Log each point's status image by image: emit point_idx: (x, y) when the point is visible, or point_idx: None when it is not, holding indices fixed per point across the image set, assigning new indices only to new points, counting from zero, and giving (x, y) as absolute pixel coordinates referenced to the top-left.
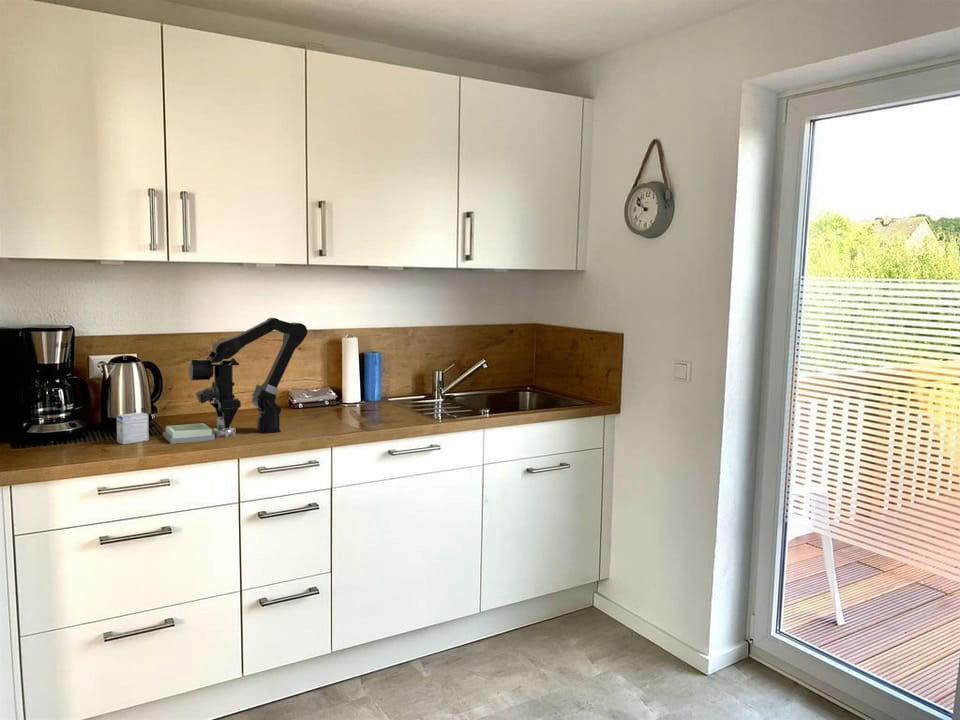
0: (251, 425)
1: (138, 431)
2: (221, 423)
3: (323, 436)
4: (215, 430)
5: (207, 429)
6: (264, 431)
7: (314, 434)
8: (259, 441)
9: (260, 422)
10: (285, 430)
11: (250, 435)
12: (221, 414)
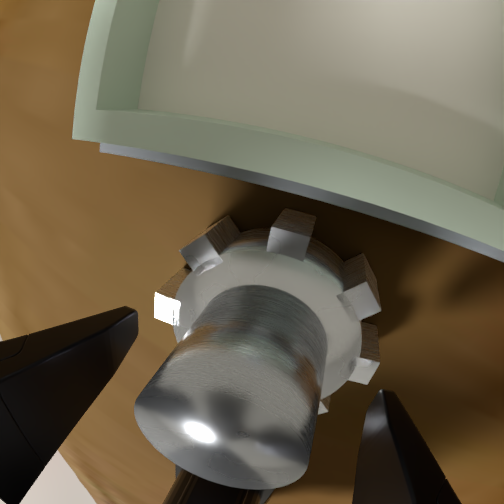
0: None
1: None
2: (182, 340)
3: (72, 453)
4: (253, 249)
5: (80, 90)
6: None
7: (102, 468)
8: (28, 317)
9: (186, 496)
10: None
11: None
12: (374, 500)
